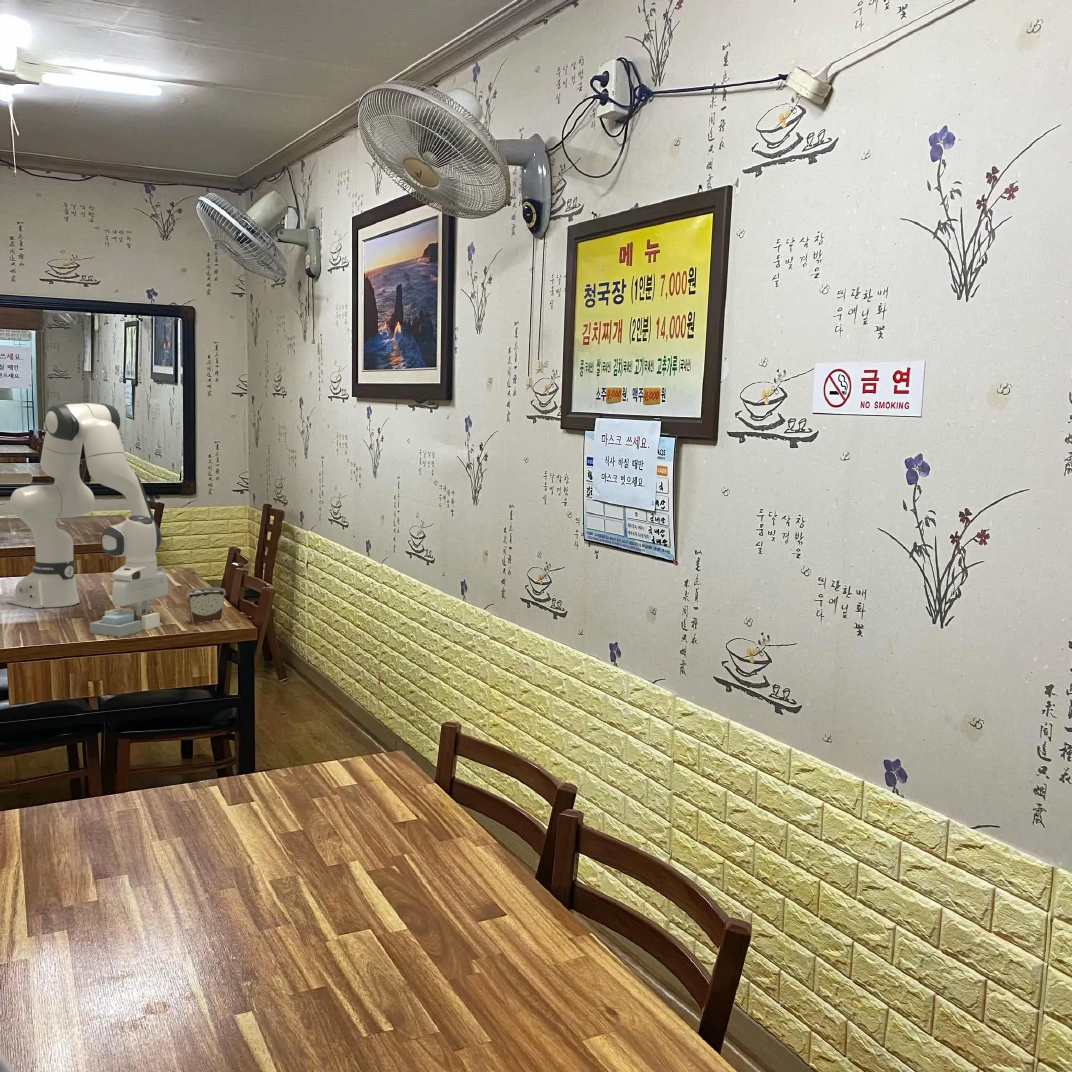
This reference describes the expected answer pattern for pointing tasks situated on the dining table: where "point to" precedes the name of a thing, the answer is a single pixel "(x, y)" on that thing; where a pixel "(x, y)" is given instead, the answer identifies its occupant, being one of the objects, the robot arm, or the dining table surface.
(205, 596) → the food container
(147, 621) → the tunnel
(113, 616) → the block
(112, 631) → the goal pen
